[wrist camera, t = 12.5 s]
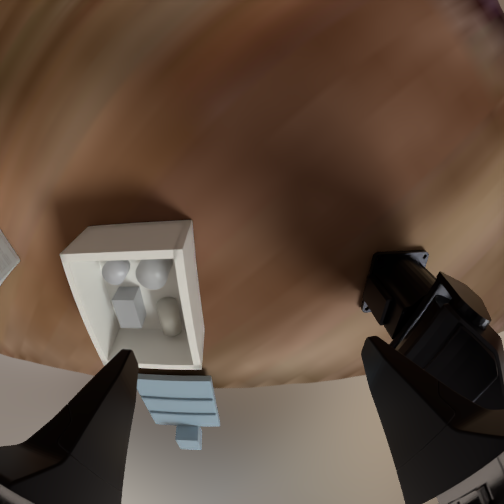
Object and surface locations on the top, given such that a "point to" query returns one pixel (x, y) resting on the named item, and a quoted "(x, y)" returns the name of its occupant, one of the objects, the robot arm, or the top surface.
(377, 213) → the top surface
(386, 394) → the robot arm
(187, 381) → the light blue tapered piece
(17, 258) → the supplement box
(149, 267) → the tub
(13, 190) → the top surface
